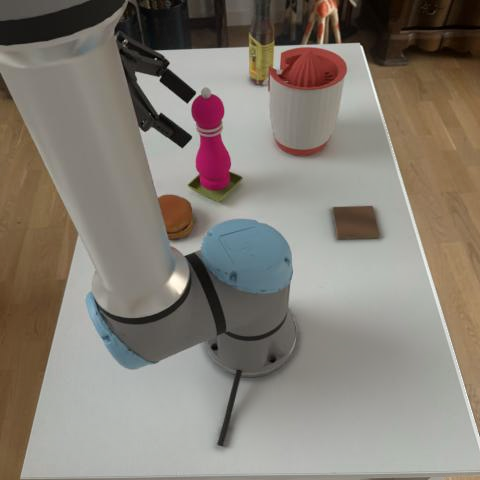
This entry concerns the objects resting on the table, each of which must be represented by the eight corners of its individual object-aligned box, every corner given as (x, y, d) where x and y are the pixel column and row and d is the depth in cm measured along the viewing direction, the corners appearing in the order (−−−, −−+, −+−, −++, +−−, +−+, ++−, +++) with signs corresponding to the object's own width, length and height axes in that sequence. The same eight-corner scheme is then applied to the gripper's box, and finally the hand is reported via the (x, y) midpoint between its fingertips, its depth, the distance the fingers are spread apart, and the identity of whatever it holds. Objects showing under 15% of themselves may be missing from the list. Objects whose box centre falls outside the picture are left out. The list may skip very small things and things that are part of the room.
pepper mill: (205, 166, 96) (194, 74, 79) (237, 173, 94) (232, 80, 77) (192, 188, 92) (178, 96, 75) (225, 195, 91) (217, 103, 74)
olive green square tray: (212, 170, 98) (211, 162, 96) (244, 184, 95) (244, 177, 93) (187, 193, 94) (186, 185, 93) (220, 208, 92) (219, 201, 90)
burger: (200, 234, 88) (197, 216, 84) (154, 246, 87) (149, 230, 83) (187, 202, 93) (184, 184, 89) (144, 213, 92) (139, 196, 88)
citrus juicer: (278, 112, 109) (281, 23, 92) (345, 131, 104) (361, 40, 87) (248, 149, 102) (246, 59, 85) (319, 170, 97) (332, 80, 80)
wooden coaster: (378, 238, 86) (379, 234, 85) (337, 239, 86) (337, 236, 85) (371, 209, 90) (372, 205, 89) (332, 210, 90) (332, 206, 89)
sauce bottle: (248, 74, 119) (246, -12, 102) (271, 72, 119) (273, -15, 102) (251, 88, 115) (249, 0, 98) (274, 85, 115) (277, -2, 98)
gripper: (76, 57, 60) (199, 149, 72) (105, -22, 73) (205, 67, 85) (52, 96, 64) (172, 176, 77) (84, 15, 78) (182, 94, 90)
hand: (189, 119), depth 81 cm, fingers open, 13 cm apart
